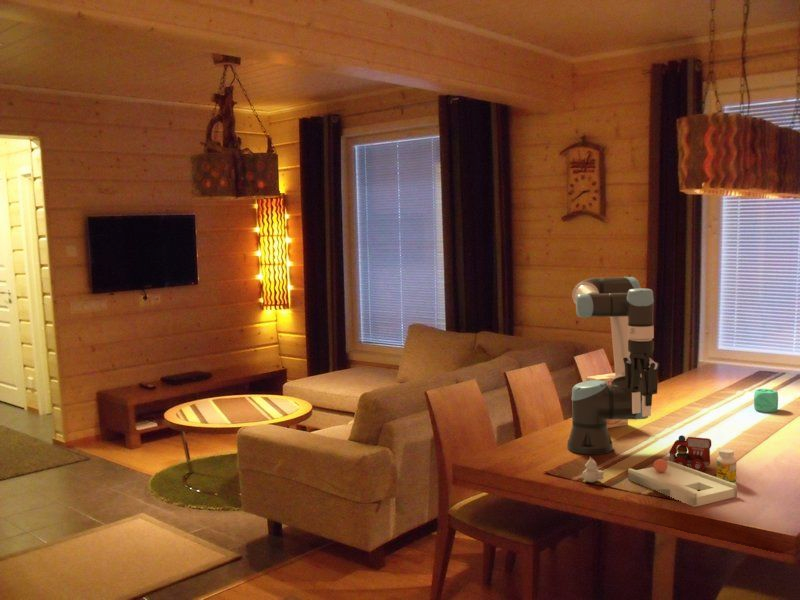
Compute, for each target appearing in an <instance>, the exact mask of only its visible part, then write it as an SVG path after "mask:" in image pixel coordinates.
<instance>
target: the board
mask: <svg viewBox="0 0 800 600" xmlns="http://www.w3.org/2000/svg"><path fill="white" fill-rule="evenodd" d="M665 461H666V463H667V465H668V467H667V470H666V471H665V472H662V473H660V472H657V471H656V470H655V469H654V466H651V467H646V468H641V469H634V468H628V469H627V473H628V474H627V475H628V476H627V481H629V480H630V482H632V481H633V482H632V483H634V482H635V484H637V483H638V484H637V485H639V484H640V485H639V486H642V485H643V486H642V487H644V486H645V488H646V487H648V488H647V489H649V488H651V489H653V490H652V491H654V490H656V491H658V492H657V493H659V492H660V493H659V494H661V493H663V494H665V495H664V496H666V495H667V496H666V497H668V496H670V497H669V498H671V497H672V498H671V499H673V498H674V499H673V500H676V501H678V500H679V501H678V502H680V501H681V503H683V504H685V503H686V505H687V506H689V507H690V506H691V507H693V508H695V507H699V506H700V507H701V506H704V505H707V504H708V505H709V504H712V503H713V504H714V503H716V502H721V501H724V500H728V499H731V498H736V497H737V496H738V489H737V488H738V484H737V483H735V484H734V483H731V482H728V481H726V480H723V479H720V478H717V476H714V475H711V474H708V473H705V472H703V471H702V472H700V471H697V470H694V469H692V468H691V467H689V466H687V467H686V466H683V465H680V464H677V463H674V462H672V461H670V459H669V460H665ZM651 489H650V490H651ZM697 490H700V491H697ZM656 491H655V492H656ZM663 494H662V495H663ZM737 498H738V497H737Z"/></svg>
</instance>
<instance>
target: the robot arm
mask: <svg viewBox="0 0 800 600" xmlns="http://www.w3.org/2000/svg"><path fill="white" fill-rule="evenodd" d="M571 299H572V301H573V303H574V305H575V314H576V316H577V317H578V318H589V319H590V318H602V317H606V318H607V317H608V318H610V319H609V320H610V329H611V330H610V331H611V339H612V340H611V342H612V353H613V363H614V373H615V378H614V379H613V380H612V381H611V384H612V385H607V383H606V382H605V381H602V380H591V381H586V380H585V381H582V382H581V381H580V382H578V383H576V384H574V386H573V387H572V389H571V402H572V403H571V407H572V408H571V409H572V414H571V415H572V416H571V417H572V418H571V422H572V423H571V424H572V426H571V429H570V433H569V438H568V440H567V449H568V451H571V452H573V453H574V454H575V453H576V454H581V455H604V454H605V455H606V454H608V453H610V452H612V451H613V441H612V439H611V438H612V437H611V435H610V433H609V428H607V419H628V420H634V421H637V420H645V419H648V417H651V416H652V406H653V404H652V403H653V395H657V394H658V385H659V384H658V383H659V382H658V380H659V376H658V375H659V368H660V362H659V361H658V362H656V361H654V358H653V356H652V353H653V352H654V351H655V348H654V347H655V343H654V342H655V341H654V340H653V339H654V338H655V337H654V336H655V335H654V333H655V330H654V329H655V327H654V302H655V299H654V291H653V289H651V288H644V287H643V288H642V287H641V285H640V282H639V280H638V279H637V278H636V277H634V276H626V275H625V276H617V277H616V276H615V277H614V276H607V277H606V276H605V277H591V278H587V279H584V280H581V281H579V282H578V283H577V284H575V285H574V286H573V288H572V291H571Z"/></svg>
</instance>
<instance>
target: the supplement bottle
mask: <svg viewBox="0 0 800 600" xmlns="http://www.w3.org/2000/svg"><path fill="white" fill-rule="evenodd" d="M718 455H719V456H717V458H716V477H717V478H720V479H723V480H726V481H728V482H731V483H734V484H737V459H736V458H735V457H734V455H735V453H734V450H733V449H729V448H721V449H719V450H718Z"/></svg>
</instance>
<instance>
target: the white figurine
mask: <svg viewBox="0 0 800 600" xmlns="http://www.w3.org/2000/svg"><path fill="white" fill-rule="evenodd" d="M597 464H598V463H597V462H596V460H594V458H592V457H591V456H589V459H588V460H587V461H586V463H585V464H584V466H585V469H584V471H582V472H581V473H582V474H581V475H582V478H583V480H584V481H586V482H588V483H596V482H597V481H598V480H600V481H601V480H603V479H604V475H605V471H604V470H601V469H600V470H599V469H598V465H597Z"/></svg>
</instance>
